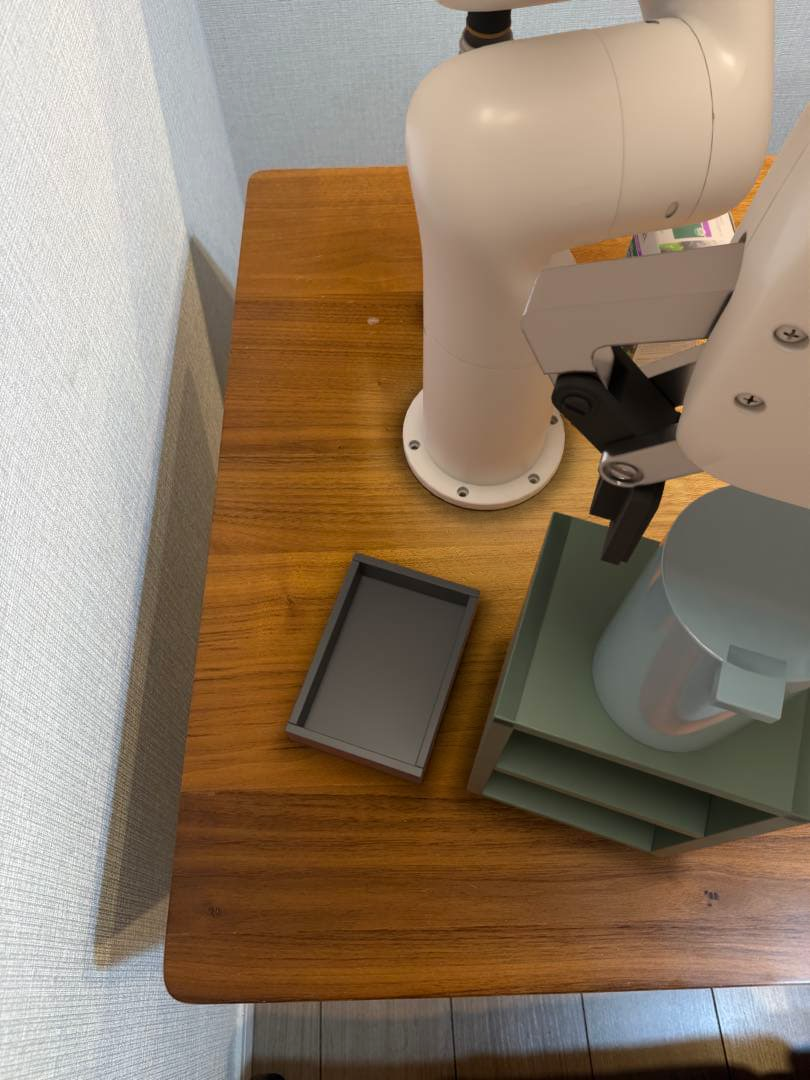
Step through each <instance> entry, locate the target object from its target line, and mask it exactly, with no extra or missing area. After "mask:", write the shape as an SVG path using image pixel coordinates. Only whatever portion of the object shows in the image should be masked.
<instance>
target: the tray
mask: <svg viewBox="0 0 810 1080" xmlns="http://www.w3.org/2000/svg"><path fill="white" fill-rule="evenodd" d="M481 592H482V591H481V589H478V588H473V587H471V586H468V585H465V584H461V583H459V582H455V581H451V580H448V579H445V578H443V577H438V576H435V575H431V574H428V573H425V572H421V571H419V570H415V569H412V568H409V567H406V566H403V565H398V564H395V563H392V562H389V561H386V560H383V559H379V558H376V557H372V556H369V555H366V554H363V553H360V552H354V554H353V556H352V560H351V562H350V564H349V567H348V570H347V572H346V575H345V577H344V579H343V582H342V584H341V587H340V589H339V592H338V594H337V596H336V599H335V602H334V605H333V606H332V609H331V612H330V614H329V617H328V620H327V622H326V625H325V628H324V630H323V633H322V635H321V637H320V639H319V640H320V641H319V642H318V645H317V647H316V650H315V652H314V655H313V658H312V659H311V662H310V665H309V668H308V671H307V673H306V676H305V678H304V680H303V683H302V686H301V687H300V690H299V693H298V696H297V698H296V700H295V704H294V705H293V709H292V711H291V714H290V716H289V718H288V722H287V724H286V725H285V729H284V732H285V733H286V735H287V736H288V738H289V739H290V741H292V742H295V743H298V744H301V745H303V746H306V747H309V748H313V749H315V750H318V751H321V752H323V753H326V754H329V755H332V756H335V757H338V758H341V759H344V760H346V761H350V762H352V763H355V764H358V765H361V766H364V767H367V768H370V769H373V770H376V771H379V772H382V773H384V774H388V775H390V776H393V777H397V778H398V779H402V780H404V781H408V782H410V783H414V784H416V785H419V786H420V785H422V782H423V779H424V776H425V773H426V770H427V767H428V765H429V764H428V763H429V761H430V757H431V754H432V751H433V748H434V746H435V743H436V739H437V735H438V733H439V729H440V726H441V724H442V720H443V717H444V714H445V711H446V707H447V705H448V701H449V698H450V695H451V691H452V689H453V686H454V682H455V679H456V676H457V674H458V673H457V672H458V669H459V666H460V663H461V660H462V658H463V653H464V651H465V648H466V645H467V641H468V638H469V635H470V632H471V629H472V626H473V622H474V620H475V616H476V613H477V610H478V607H479V602H480V596H481Z"/></svg>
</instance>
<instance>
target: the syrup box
mask: <svg viewBox="0 0 810 1080" xmlns="http://www.w3.org/2000/svg"><path fill="white" fill-rule="evenodd" d="M736 230H737V229H736V226H735V222H734V218H733V215H732V212H731V211H729V212H727V213H726V214H724V215H722V216H720V217H718V218H715V219H712V220H709V221H706V222H702V223H698V224H694V225H689V226H684V227H679V228H673V229H667V230H661V231H655V232H650V233H644V234H638V235H633V236H631V239H630V242H629V245H628V246H627V247H628V248H627V250H626V253H625V256H624V258H627V257H634V256H641V255H649V254H656V253H664V252H671V251H679V250H686V249H694V248H701V247H709V246H716V245H724V244H729V243H730V241H731V239H732V238H733V236H734V234H735V232H736ZM697 342H698V340H688V341H674V342H661V343H647V344H634V345H620V346H621V347H622V349H623V350H624V351H625V352H626V353H627V354H628V356H629V357H630V358H631V359H632V360H633V361H634V362H635V364H636V365H637V366H638V367H640V366H643V365H646V364H648V363H651V362H654V361H657V360H659V359H662V358H665V357H667V356H670V355H673V354H675V353H678V352H681V351H683V350H686V349H689V348H691V347H694V346H696V344H697Z"/></svg>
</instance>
